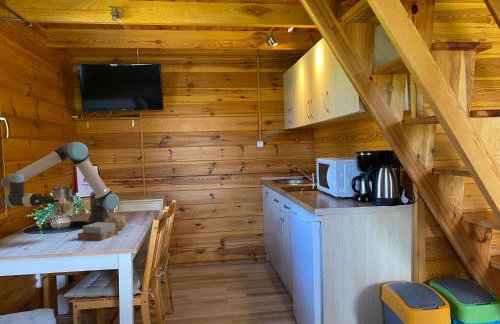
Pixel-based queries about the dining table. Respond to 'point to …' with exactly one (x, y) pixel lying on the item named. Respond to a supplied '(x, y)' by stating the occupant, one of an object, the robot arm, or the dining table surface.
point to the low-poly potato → (117, 221)
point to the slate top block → (99, 228)
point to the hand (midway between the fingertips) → (70, 199)
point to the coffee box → (63, 208)
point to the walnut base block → (97, 235)
